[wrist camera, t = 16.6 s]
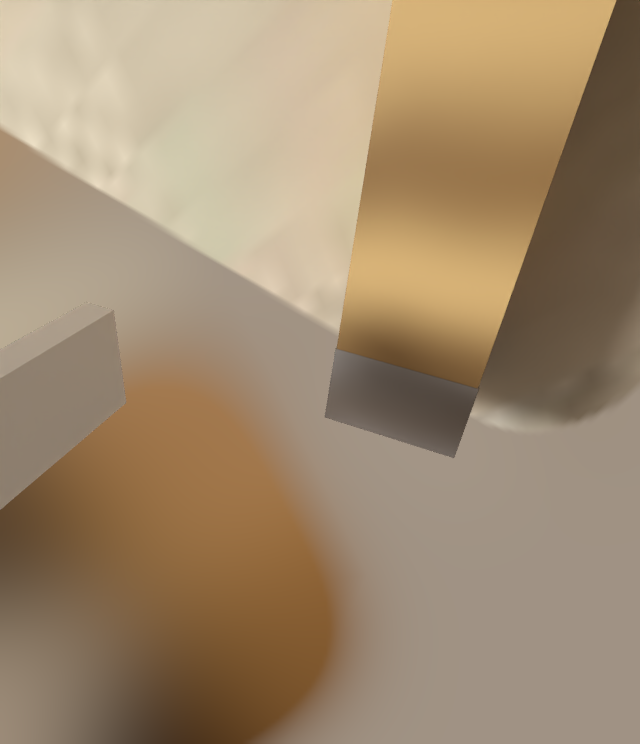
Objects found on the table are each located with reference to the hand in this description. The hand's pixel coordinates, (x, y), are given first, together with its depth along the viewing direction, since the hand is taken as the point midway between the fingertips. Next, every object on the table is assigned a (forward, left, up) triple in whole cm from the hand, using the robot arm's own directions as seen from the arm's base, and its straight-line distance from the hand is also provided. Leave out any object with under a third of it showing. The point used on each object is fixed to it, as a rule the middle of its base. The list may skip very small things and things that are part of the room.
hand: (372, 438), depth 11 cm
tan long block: (-5, 0, -10) cm, 11 cm away
